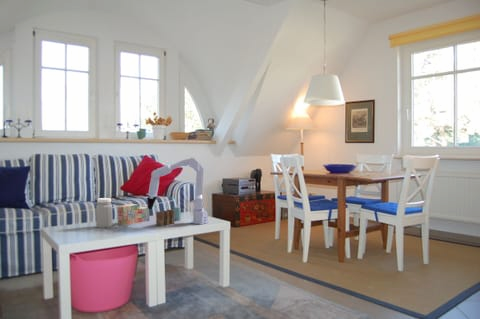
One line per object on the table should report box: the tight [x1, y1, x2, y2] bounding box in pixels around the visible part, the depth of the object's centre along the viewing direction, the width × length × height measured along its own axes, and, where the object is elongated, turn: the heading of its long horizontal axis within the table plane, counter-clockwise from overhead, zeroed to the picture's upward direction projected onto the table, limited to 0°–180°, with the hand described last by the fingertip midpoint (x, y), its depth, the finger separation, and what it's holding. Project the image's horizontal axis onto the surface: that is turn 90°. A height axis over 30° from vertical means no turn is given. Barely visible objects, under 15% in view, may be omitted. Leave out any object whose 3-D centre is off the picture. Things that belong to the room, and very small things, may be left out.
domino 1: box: [155, 211, 165, 227], centre depth 251 cm, size 2×5×9 cm, turn 58°
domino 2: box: [161, 210, 170, 226], centre depth 255 cm, size 2×5×9 cm, turn 58°
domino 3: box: [166, 209, 175, 225], centre depth 259 cm, size 2×5×9 cm, turn 58°
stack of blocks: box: [117, 203, 150, 226], centre depth 263 cm, size 21×6×12 cm, turn 143°
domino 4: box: [172, 206, 182, 221], centre depth 272 cm, size 2×5×9 cm, turn 58°
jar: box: [95, 197, 114, 229], centre depth 247 cm, size 10×10×18 cm
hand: (150, 208), depth 257 cm, fingers open, 7 cm apart
